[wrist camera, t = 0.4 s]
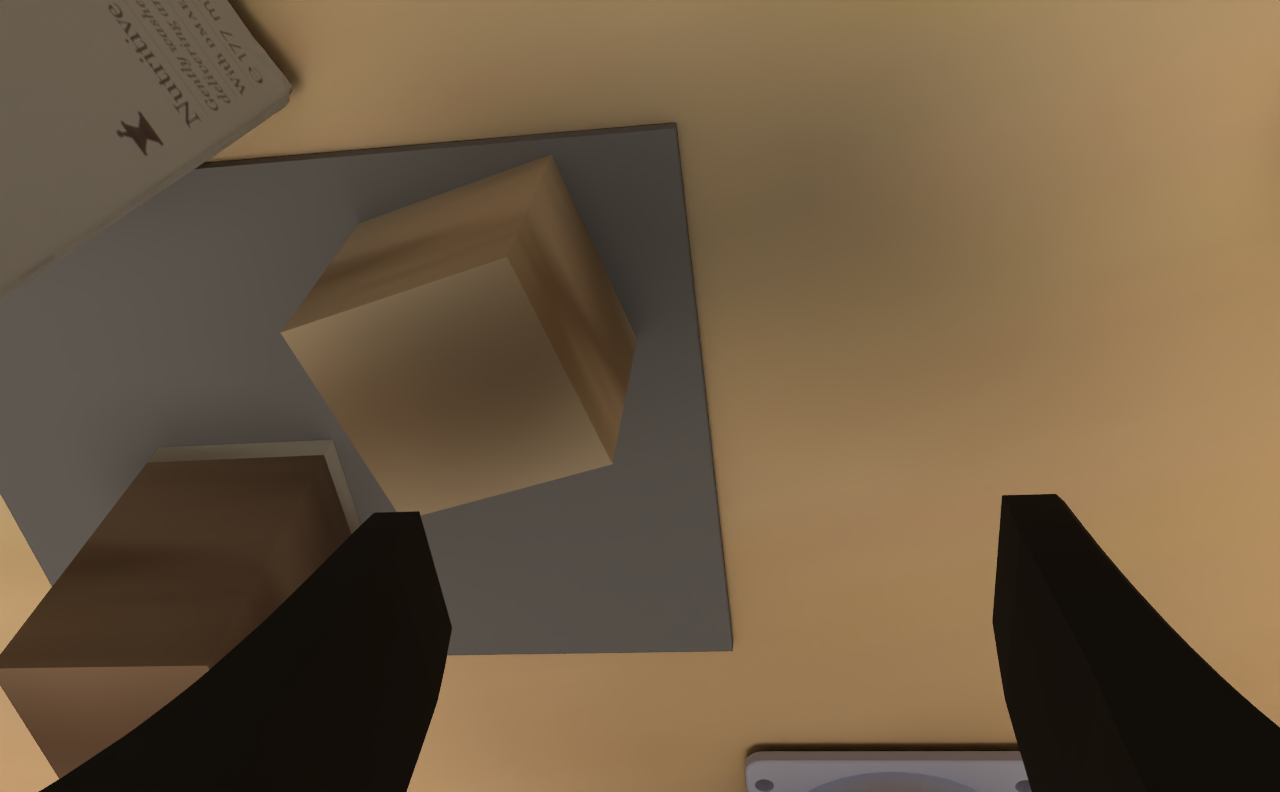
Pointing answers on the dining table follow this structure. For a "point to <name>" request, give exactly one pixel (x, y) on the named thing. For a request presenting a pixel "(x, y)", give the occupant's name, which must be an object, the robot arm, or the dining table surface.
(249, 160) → the felt mat
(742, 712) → the dining table surface
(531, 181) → the oak cube
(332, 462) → the walnut block
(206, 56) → the skincare box
